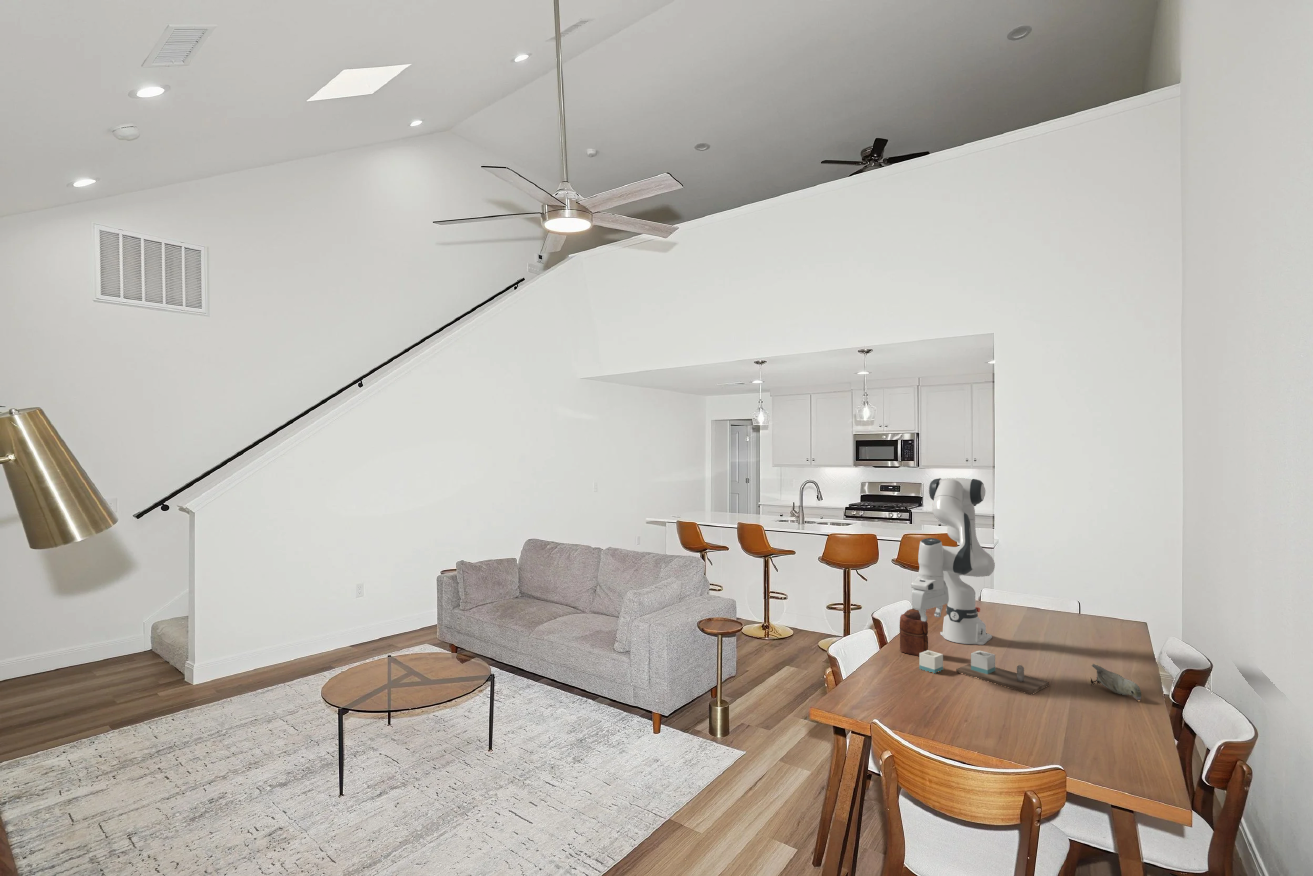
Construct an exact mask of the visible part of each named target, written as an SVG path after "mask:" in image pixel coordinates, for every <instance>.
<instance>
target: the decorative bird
mask: <svg viewBox="0 0 1313 876" xmlns="http://www.w3.org/2000/svg"><path fill="white" fill-rule="evenodd" d="M1091 667H1092V668H1093V669H1095V670H1096V679H1095V680H1093V679H1092V677H1090V683H1091V684H1090V686H1093V685H1094V686H1095V685H1096V684H1097V685H1099V684H1100V685H1102V686H1104V687H1106V689H1108V690H1110V691H1112V692H1113V693H1115V694H1118V695H1121V694H1122V696H1128V695H1129V696H1131V697H1133V699H1135V701H1137V700H1140V701H1142V700H1141V699H1142V690H1141V688H1140V686H1139V685H1138V684H1137V683H1135V681H1132V680H1129V679H1127V678H1125V677H1123V676H1122V675H1120V674H1118V673H1116V672H1114V671H1109V670H1107V669H1106V668H1104V667H1102V666H1101V665H1098V664H1095V663H1092V665H1091Z"/></svg>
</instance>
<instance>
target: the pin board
mask: <svg viewBox="0 0 1313 876" xmlns="http://www.w3.org/2000/svg"><path fill="white" fill-rule="evenodd" d="M983 656H984V655H983ZM955 671H956V673H957V672H959V673H958V674H960V673H963V674H962V675H964V674H966V675H965V676H967V675H969V676H968V677H970V676H973V677H972V678H974V677H977V678H979V679H978V680H980V679H982V680H981V681H984V680H985V681H984V682H987V681H989V682H988V683H990V682H992V683H991V684H994V683H996V684H995V685H997V684H998V686H1001V685H1002V686H1001V687H1004V686H1006V687H1005V688H1007V687H1009V688H1008V689H1011V690H1014V689H1015V690H1014V691H1017V690H1018V692H1021V693H1024V692H1025V693H1024V694H1027V693H1028V694H1027V695H1031V694H1032V695H1034V694H1036V693H1038V692H1040V691H1041V690H1043V689H1045V688H1047V687H1049V686H1050V681H1047V680H1044V679H1039V678H1036V677H1033V676H1028V675H1025V668H1024V666H1023V665H1022V664H1019V665H1017V666H1016V672H1014V671H1011V670H1007V669H1005V668H1004V669H1003V668H1000V667H997V666H995V671H994V672H992V673H989V674H985V673H981V672H978V671H974V670H971V662H970V663H968V664H965V665H963V666H960V667H958V668H956V669H955ZM977 678H976V679H977ZM1048 685H1049V686H1048ZM1046 686H1047V687H1046ZM1044 687H1045V688H1044ZM1039 690H1040V691H1039ZM1037 691H1038V692H1037ZM1035 692H1036V693H1035ZM1033 693H1034V694H1033Z"/></svg>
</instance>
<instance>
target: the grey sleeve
mask: <svg viewBox="0 0 1313 876" xmlns="http://www.w3.org/2000/svg"><path fill="white" fill-rule="evenodd" d="M983 655H984V656H983ZM970 663H971V670H974V671H978V672H981V673H985V674H989V673H992V672H994V671H995V667H996V654H994V653H991V652H987V651H984V650H980V649H979V650H976V651H973V652H971V653H970Z"/></svg>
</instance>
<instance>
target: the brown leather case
mask: <svg viewBox="0 0 1313 876" xmlns="http://www.w3.org/2000/svg"><path fill="white" fill-rule="evenodd" d="M928 635H929V624H928V620H927V621H921V615H920V613H919V610H915V609H913V608H910V609H907V610H906V611H905V612H904V613H901V615H900V618H899V651H900V652H901V653H904V654H908V655H912V656H917V657H919V653H921V652H924V651H927V650H929V636H928Z"/></svg>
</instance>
